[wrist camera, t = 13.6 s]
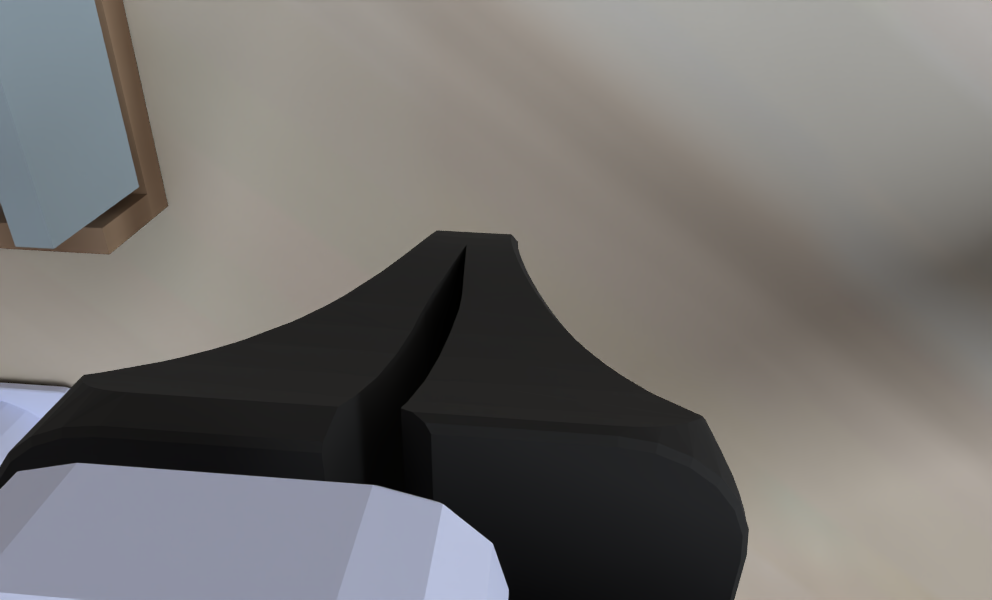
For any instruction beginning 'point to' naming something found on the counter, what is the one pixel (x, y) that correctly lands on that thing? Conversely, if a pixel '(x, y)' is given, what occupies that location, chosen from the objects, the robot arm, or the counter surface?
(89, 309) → the counter surface
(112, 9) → the caddy
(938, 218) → the counter surface
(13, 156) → the tray
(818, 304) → the counter surface
